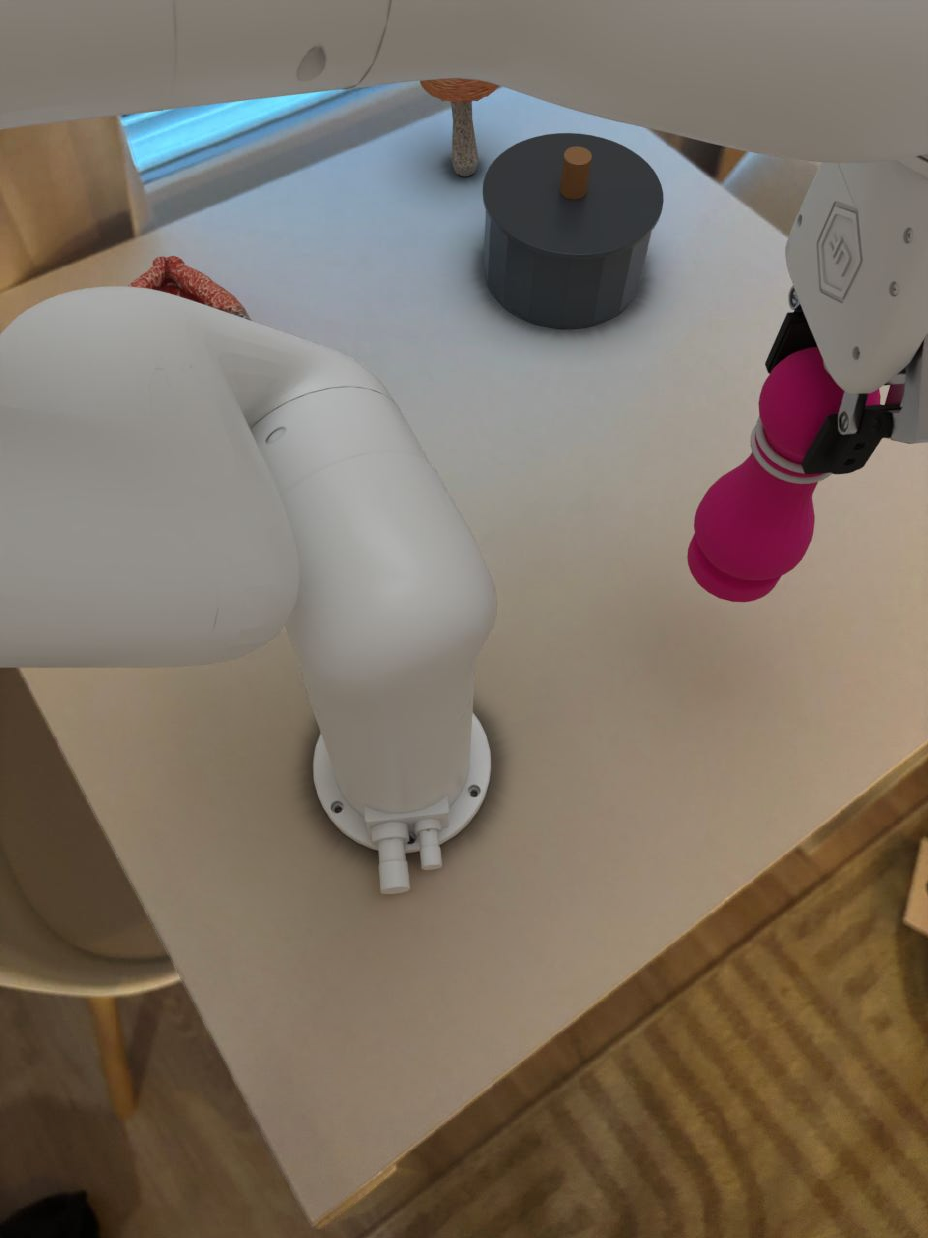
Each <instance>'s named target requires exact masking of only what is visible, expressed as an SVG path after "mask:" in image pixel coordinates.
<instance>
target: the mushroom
mask: <svg viewBox="0 0 928 1238" xmlns="http://www.w3.org/2000/svg"><path fill="white" fill-rule="evenodd" d="M419 84H420V86H421V88H422V89H423V90H424V91H425V92H426V93H427V94H429V95H430V96H431V97H433V98H436V99H439V100H440V101H441V102H450V106H451V108H450V109H451V115H452V117H451V118H452V137H451V161H452V162H451V163H452V166H453V171H454V173H455V174H456V175H458V176H460V177H469V176H472V175H473V174H475V173H476V172H477V170H478V166H479V165H478V164H479V153H478V146H477V141H476V140H477V139H476V133H475V125H474V120H473V102H478V101H480V100H482V99H484V98H487V97H489V96H490V95H492V94H493V93H494V92H495V91H496V90H497V89H498V88H499V87H500V86H499V85H496V84H493V83H489V82H485V81H480V80H473V79H461V78H453V79H435V80H423V81H419Z"/></svg>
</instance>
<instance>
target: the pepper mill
mask: <svg viewBox="0 0 928 1238" xmlns="http://www.w3.org/2000/svg"><path fill="white" fill-rule="evenodd" d="M768 374H769V373H768ZM843 394H844V390H843V389H841V388H840V387H839V386H838V385H837V383H836V382H835V381H834V379H833V378H832V376H831V375H830V373H829V371H828V369H827V367H826V365H825V362H824V360H823V358H822V356H821V353H820V351H819V348H818V347H810V348H807V349H803V350H800V351H797V352H795V353H793V354H791V355H789V356H787V357H786V358H785V359H784V360H782V361H781V362H780V363H779V364H778V365H777V366H775V367H774V369H773V370H772V372H771V373H770V374H769V375H768V376H767V378H766V379H765V380H764V382H763V383H762V387H761V390H760V393H759V397H758V404H757V405H758V418H757V420H756V423H755V425H754V427H753V429H752V430H751V435H750V443H749V444H750V449H751V453H750V455H749V456H748V457H747V458H746V459H745V460H744V461H743V462H742V463H741V464H739V465H738V466H736V467H734V468H733V469H731V470H729V471H728V472H725V474H723V475H722V476H720V477H719V478H718V479H717V480H716V481H715V482H714V483H713V484H712V485H710V487H709V488H708V489H707V491H706V492H705V494H704V495H703V497H702V499H701V500H700V502H699V504H698V505H697V508H696V510H695V514H694V519H693V521H694V522H693V530H694V534H693V536H692V538H691V540H690V542H689V546H688V547H687V556H686V558H687V565H688V567H689V572H690V574H691V575H692V577H693V578H694V580H695V582H696V583H697V585H699V586H700V587H701V588H702V589H703V590H705V592H706V593H709V594H710V595H712V596H713V597H716V598H717V599H720V600H723V601H727V602H732V603H750V602H754V601H757V600H760V599H762V598H764V597H765V596H767V595H769V594H770V593H771V592H772V590H774V589H775V587H776V586H777V585H778V583H779V581H780V580H781V578H782V576H783V575H786V574H788V573H789V572H791V571H792V570H794V569H795V568H796V567H797V566H798V565H799V563H800V562H801V561H802V560H803V558H804V557H805V556H806V553H807V552H808V549H809V547H810V546H811V543H812V540H813V537H814V531H815V522H816V521H815V520H816V515H815V510H814V509H815V508H814V503H813V494H814V492H815V490H816V487H817V485H818V483H819V482H821V481H824V480H825V479H827V478H829V477H831V475H833V474H832V473H821V474H810V475H807V474H805V473H804V470H803V468H802V465H801V463H802V461H803V458H804V456H805V455H806V453H807V451H808V449H809V447H810V446H811V444H812V442H813V440H814V438H815V437H816V435H817V433H818V431H819V429H820V428H821V426H822V424H823V422H824V420H825V419H826V417H827V416H829V415H831V414H837V413H839V410H840V406H841V402H842V398H843ZM881 397H882V396H881V391H880V388H879V389H878V390H876V391H874V392H872V393H869V394H868V398H867V401H866V405H865V406H867V405H879V404H881Z"/></svg>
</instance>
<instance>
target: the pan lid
mask: <svg viewBox="0 0 928 1238" xmlns="http://www.w3.org/2000/svg"><path fill="white" fill-rule="evenodd" d="M481 194H482V202H483V205H484V209H485V212H486V211H487V213H488V215H489V217H490V219H491V220H492V222H493V223H494V225H495V226H496V227H497V228H498V229H499V230H500V231H501V232H502V233H503V234H505V235H506V236H507V237H508V238H510V239H511V240H513V241H514V242H516V243H518V244H519V245H521V246H523V247H525V248H528V249H530V250H532V251H535V252H538V253H541V254H545V255H549V256H553V257H559V258H567V259H591V258H599V257H604V256H609V255H613V254H616V253H619V252H622V251H624V250H626V249H628V248H630V247H633V246H634V245H636V244H637V243H639V242H640V241H642V240H643V239H644V238H645V237H646V236H648V235H649V233H650V232H651V231H652V232H653V230H655V228H656V226H657V224H658V223H659V221H660V218H661V215H662V213H663V209H664V200H665V199H664V189H663V185H662V183H661V181H660V178H659V176H658V174H657V173H656V171H655V169H654V168H653V167H652V166H651V165H650V164H649V163H648V162H647V160H645V159H644V158H643V157H642V156H640V154H637V153H636V152H635V151H633V150H632V149H630V148H628V147H626V146H625V145H622V144H620V143H618V142H616V141H613V140H610V139H607V138H605V137H601V136H596V135H592V134H586V133H575V132H557V133H548V134H541V135H538V136H534V137H531V138H526V139H525V140H522V141H519V142H517V143H515V144H513V145H511V146H510V147H508V148H507V149H505V150H504V151H503V152H501V153H500V154H499V155H498V156H497V157H496V158H495V159H494V160H493V161H492V163H491V164H490V165H489V167H488V169H487V171H486V173H485V174H484V178H483V181H482V193H481ZM652 232H651V233H652Z"/></svg>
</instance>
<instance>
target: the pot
mask: <svg viewBox="0 0 928 1238" xmlns="http://www.w3.org/2000/svg"><path fill="white" fill-rule="evenodd" d="M652 232H653V230H652V231H651V232H650V233H649V235H648V236H646V237H645V238H644V239H643V240H642V241H640V242H639V243H637V244H636V245H634V246H633V247H630V248H628V249H626V250H624V251H622V252H619V253H616V254H613V255H609V256H604V257H599V258H591V259H567V258H559V257H553V256H549V255H545V254H541V253H538V252H535V251H532V250H530V249H528V248H525V247H523V246H521V245H519V244H518V243H516V242H514V241H513V240H511V239H510V238H508V237H507V236H506V235H505V234H503V233H502V232H501V231H500V230H499V229H498V228H497V227H496V226H495V225H494V223H493V222H492V220H491V219H490V217H489V215H488V213H487V211H486V210H485V222H484V247H483V248H484V250H483V265H484V276H485V281H486V284H487V286H488V289H489V291H490V292H491V294H492V296H493V297H494V299H496V301H497V302H498V303H499V304H500V306H502V307H503V308H504V309H506V310H507V311H508V312H509V313H511V314H513V315H514V316H516V317H518V318H520V319H522V320H523V321H526V322H529V323H531V324H534V325H537V326H542V327H545V328H552V329H561V330H562V329H563V330H571V329H573V330H574V329H582V328H588V327H592V326H596V325H600V324H602V323H605V322H607V321H609V320H611V319H613V318H615V317H616V316H618V315H619V314H621V313H622V312H623V311H624V310H625V309H627V308H628V306H629V305H630V304H631V303H632V302H633V300H634V299H635V297H636V295H637V294H638V291H639V288H640V284H641V279H642V276H643V272H644V267H645V262H646V258H647V254H648V250H649V245H650V241H651V238H652V237H651V236H652Z"/></svg>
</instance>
